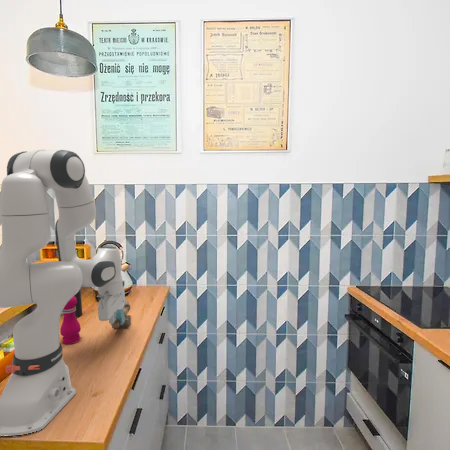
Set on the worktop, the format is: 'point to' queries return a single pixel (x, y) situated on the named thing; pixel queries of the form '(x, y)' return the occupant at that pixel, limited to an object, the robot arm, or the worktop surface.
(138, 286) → the worktop surface
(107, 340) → the worktop surface
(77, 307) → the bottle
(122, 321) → the rider
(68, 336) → the pepper mill
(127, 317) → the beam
